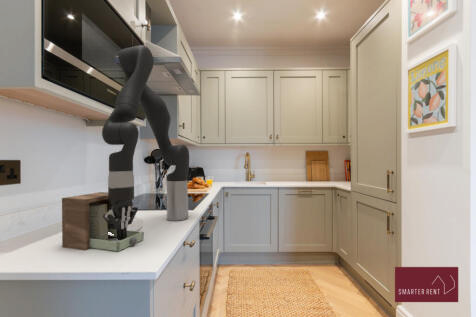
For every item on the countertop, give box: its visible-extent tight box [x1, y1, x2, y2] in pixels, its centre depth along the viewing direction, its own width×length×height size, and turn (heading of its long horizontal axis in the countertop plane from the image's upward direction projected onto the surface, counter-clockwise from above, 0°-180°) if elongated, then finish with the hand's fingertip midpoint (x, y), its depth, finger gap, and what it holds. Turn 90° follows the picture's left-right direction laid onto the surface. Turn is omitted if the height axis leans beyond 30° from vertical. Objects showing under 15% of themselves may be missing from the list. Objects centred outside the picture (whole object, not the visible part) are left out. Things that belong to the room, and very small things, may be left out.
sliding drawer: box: [89, 229, 144, 252], centre depth 83 cm, size 11×20×2 cm, turn 72°
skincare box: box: [89, 204, 109, 241], centre depth 85 cm, size 6×4×12 cm
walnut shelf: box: [61, 191, 116, 251], centre depth 86 cm, size 14×10×15 cm, turn 162°
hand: (121, 239), depth 82 cm, fingers closed
